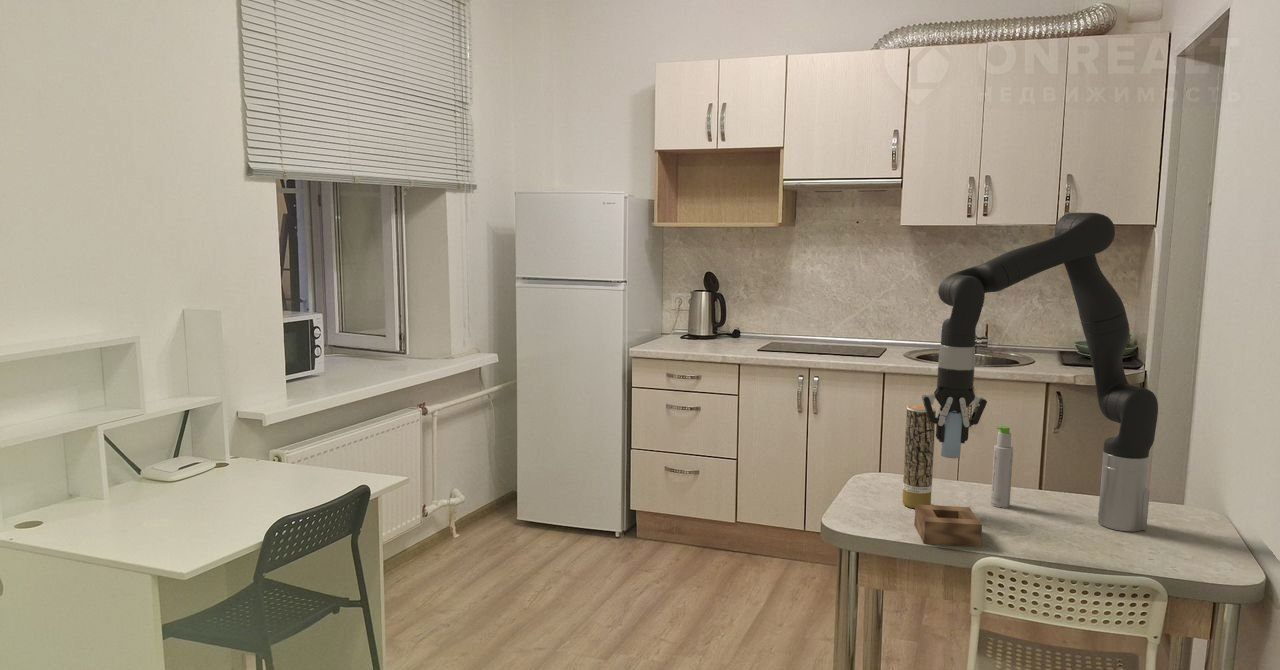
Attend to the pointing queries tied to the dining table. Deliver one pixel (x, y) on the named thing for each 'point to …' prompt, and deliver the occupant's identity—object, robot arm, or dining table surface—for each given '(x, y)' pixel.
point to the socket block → (948, 525)
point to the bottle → (1002, 469)
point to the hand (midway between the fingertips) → (951, 441)
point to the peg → (952, 435)
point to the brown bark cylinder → (918, 457)
